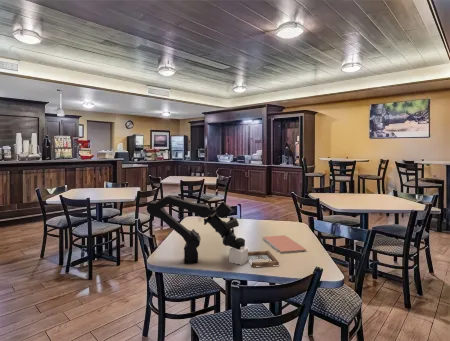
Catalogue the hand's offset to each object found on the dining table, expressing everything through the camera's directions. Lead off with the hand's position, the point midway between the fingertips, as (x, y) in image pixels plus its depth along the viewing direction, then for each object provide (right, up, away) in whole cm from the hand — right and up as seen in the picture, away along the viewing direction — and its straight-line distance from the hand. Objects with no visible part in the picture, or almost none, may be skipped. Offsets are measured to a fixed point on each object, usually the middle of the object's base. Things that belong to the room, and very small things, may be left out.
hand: (239, 246), depth 148 cm
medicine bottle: (0, -8, +1) cm, 8 cm away
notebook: (+27, -7, +28) cm, 40 cm away
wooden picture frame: (+10, -8, +3) cm, 13 cm away
